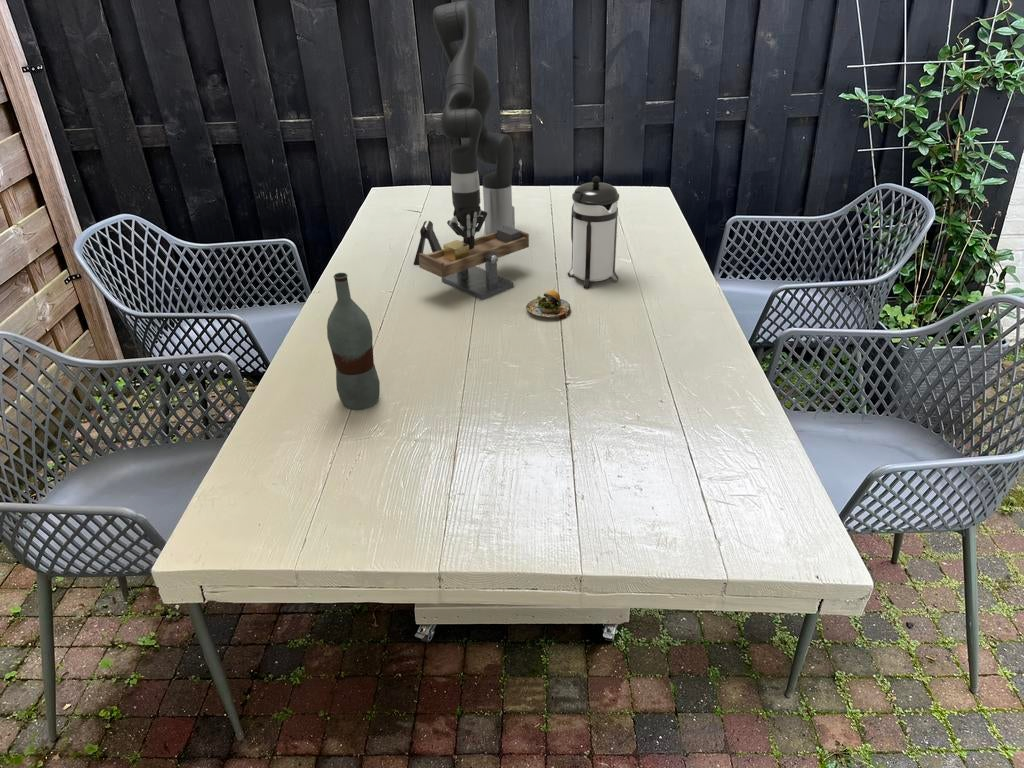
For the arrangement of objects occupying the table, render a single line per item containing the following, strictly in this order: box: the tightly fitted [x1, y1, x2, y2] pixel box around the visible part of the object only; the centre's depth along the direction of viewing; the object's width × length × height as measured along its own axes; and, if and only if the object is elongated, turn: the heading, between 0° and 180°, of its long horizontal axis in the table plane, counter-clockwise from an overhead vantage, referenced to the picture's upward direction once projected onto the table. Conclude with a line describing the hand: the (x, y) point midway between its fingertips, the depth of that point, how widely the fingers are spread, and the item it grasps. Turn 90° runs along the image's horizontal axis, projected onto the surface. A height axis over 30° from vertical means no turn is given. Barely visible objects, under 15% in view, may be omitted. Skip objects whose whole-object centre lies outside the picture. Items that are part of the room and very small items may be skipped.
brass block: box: [442, 239, 470, 262], centre depth 204 cm, size 5×5×4 cm
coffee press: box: [567, 175, 620, 290], centre depth 209 cm, size 17×16×30 cm
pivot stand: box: [440, 240, 515, 301], centre depth 212 cm, size 12×18×11 cm, turn 43°
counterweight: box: [497, 227, 522, 243], centre depth 216 cm, size 4×6×3 cm, turn 43°
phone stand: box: [413, 220, 443, 266], centre depth 227 cm, size 9×6×12 cm, turn 86°
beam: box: [418, 225, 530, 279], centre depth 209 cm, size 32×10×4 cm, turn 133°
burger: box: [525, 284, 572, 321], centre depth 197 cm, size 12×12×8 cm
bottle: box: [326, 272, 381, 411], centre depth 156 cm, size 9×9×30 cm
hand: (469, 248), depth 207 cm, fingers closed
